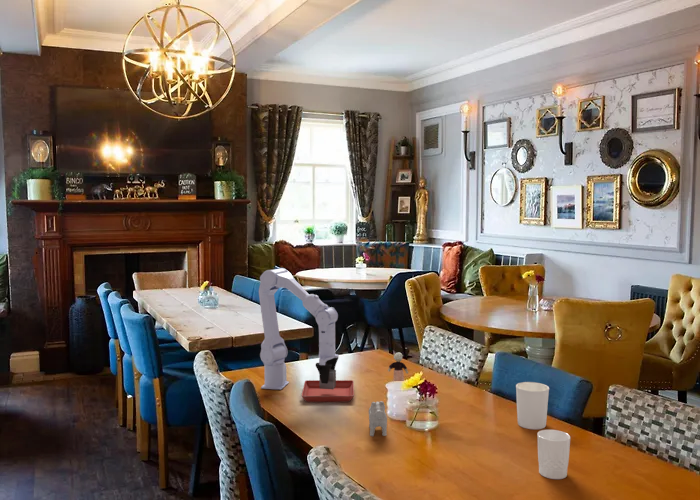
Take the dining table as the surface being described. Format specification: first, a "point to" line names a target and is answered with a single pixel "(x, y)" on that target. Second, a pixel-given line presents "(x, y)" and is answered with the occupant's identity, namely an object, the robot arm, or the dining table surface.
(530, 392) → the candle holder
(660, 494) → the dining table surface
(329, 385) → the charcoal block
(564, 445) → the white cup
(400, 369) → the grandmother figurine
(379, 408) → the dog figurine
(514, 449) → the dining table surface
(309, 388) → the plant saucer
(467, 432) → the dining table surface
